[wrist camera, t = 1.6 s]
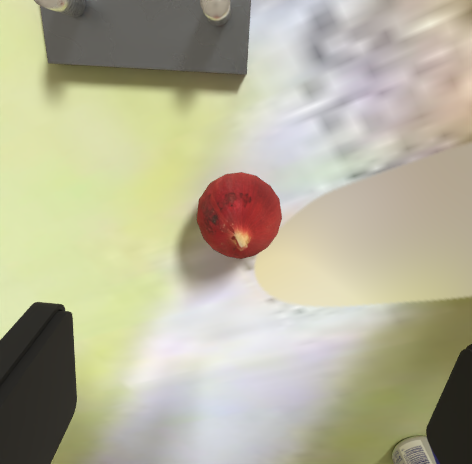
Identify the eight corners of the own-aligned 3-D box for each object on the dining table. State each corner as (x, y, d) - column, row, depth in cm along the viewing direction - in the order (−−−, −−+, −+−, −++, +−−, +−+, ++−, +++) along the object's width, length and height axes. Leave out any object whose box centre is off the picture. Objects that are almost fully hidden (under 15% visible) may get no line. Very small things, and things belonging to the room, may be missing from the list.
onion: (188, 208, 29) (171, 254, 22) (227, 147, 27) (223, 173, 20) (249, 244, 30) (253, 298, 23) (290, 188, 28) (309, 227, 21)
